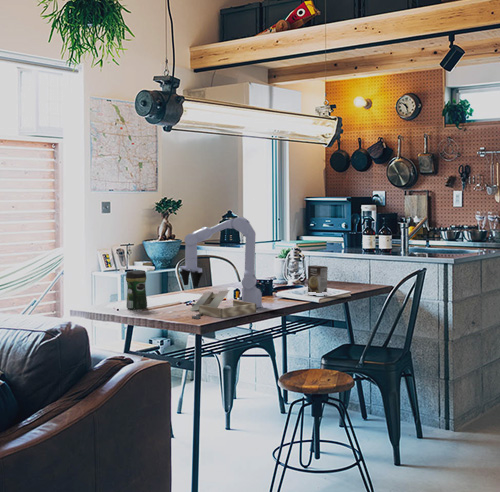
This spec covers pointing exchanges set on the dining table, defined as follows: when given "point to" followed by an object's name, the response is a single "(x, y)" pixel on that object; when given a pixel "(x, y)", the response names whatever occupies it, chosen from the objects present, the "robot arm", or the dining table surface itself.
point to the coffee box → (317, 279)
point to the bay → (229, 309)
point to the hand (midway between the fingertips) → (190, 285)
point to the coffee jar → (136, 289)
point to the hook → (197, 316)
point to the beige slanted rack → (210, 300)
